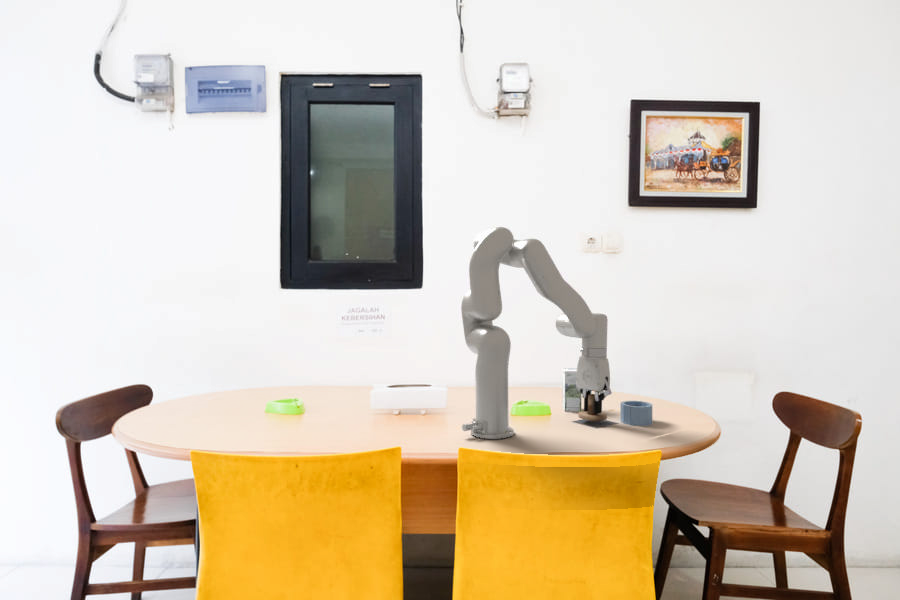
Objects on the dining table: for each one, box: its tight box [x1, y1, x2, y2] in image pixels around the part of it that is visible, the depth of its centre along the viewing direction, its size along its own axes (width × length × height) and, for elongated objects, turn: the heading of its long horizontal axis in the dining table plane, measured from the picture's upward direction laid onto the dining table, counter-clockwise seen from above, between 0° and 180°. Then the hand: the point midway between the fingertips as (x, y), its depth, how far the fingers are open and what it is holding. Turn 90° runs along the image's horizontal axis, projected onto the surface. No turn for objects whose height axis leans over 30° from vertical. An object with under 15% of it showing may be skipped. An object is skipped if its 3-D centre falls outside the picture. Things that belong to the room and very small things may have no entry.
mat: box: [571, 418, 619, 429], centre depth 165 cm, size 10×10×1 cm
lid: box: [577, 393, 608, 421], centre depth 165 cm, size 9×9×7 cm
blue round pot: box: [620, 400, 653, 427], centre depth 165 cm, size 9×9×6 cm
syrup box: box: [562, 367, 582, 413], centre depth 182 cm, size 6×6×14 cm
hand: (592, 411), depth 165 cm, fingers closed on lid, 3 cm apart
